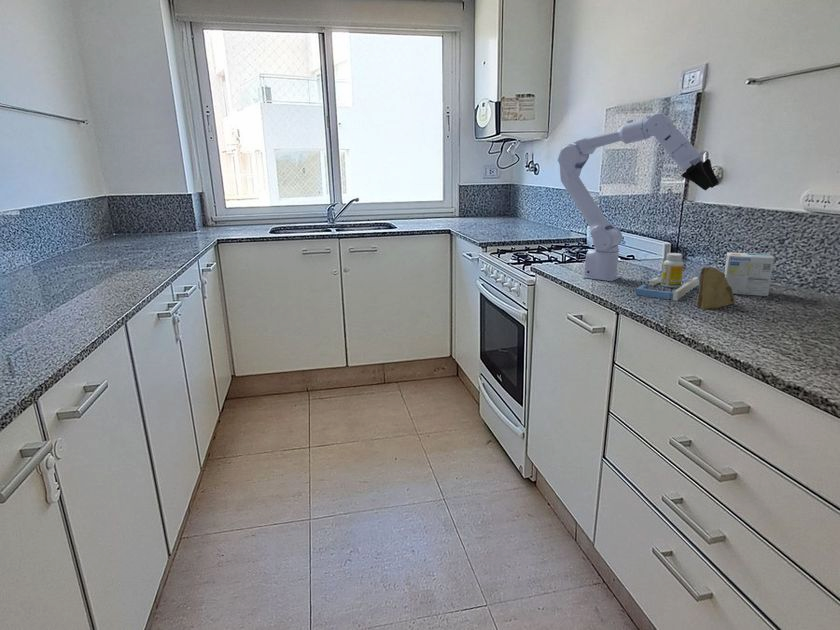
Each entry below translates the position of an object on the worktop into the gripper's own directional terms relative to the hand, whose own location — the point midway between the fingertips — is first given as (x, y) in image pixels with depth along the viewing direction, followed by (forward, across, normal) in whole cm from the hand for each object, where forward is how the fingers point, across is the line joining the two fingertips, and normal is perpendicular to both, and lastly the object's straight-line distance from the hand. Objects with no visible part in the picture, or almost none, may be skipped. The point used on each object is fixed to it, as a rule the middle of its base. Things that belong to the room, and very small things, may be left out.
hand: (712, 186), depth 138 cm
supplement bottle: (+16, -2, +25) cm, 30 cm away
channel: (+16, -8, +25) cm, 30 cm away
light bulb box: (+29, +2, +12) cm, 31 cm away
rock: (+26, -18, +14) cm, 34 cm away
